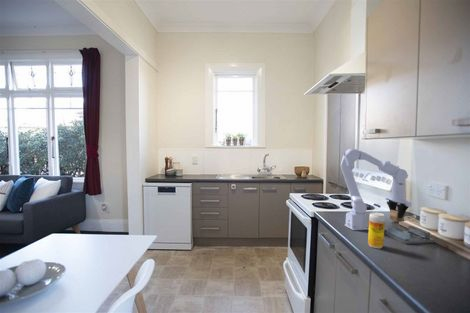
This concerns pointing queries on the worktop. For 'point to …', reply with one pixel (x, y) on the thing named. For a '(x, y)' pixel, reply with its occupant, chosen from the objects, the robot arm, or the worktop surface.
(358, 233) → the worktop surface
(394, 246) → the worktop surface
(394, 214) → the block
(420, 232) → the vise
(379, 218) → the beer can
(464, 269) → the worktop surface
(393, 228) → the sliding jaw
